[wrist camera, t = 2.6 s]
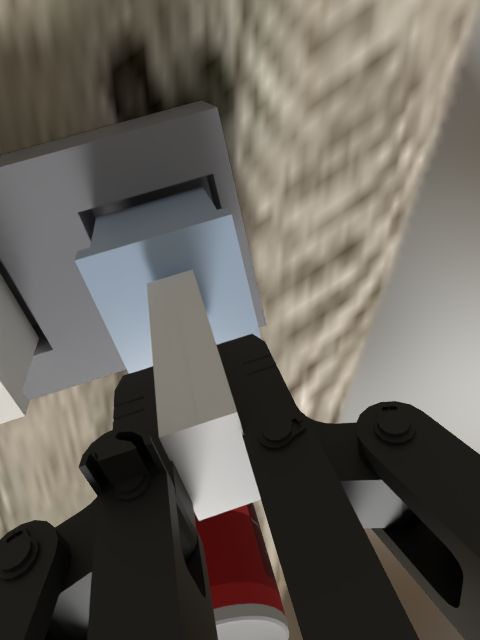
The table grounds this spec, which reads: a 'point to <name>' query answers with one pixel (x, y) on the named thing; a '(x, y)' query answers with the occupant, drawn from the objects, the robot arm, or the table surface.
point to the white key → (14, 355)
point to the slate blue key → (166, 269)
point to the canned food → (241, 577)
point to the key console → (79, 220)
